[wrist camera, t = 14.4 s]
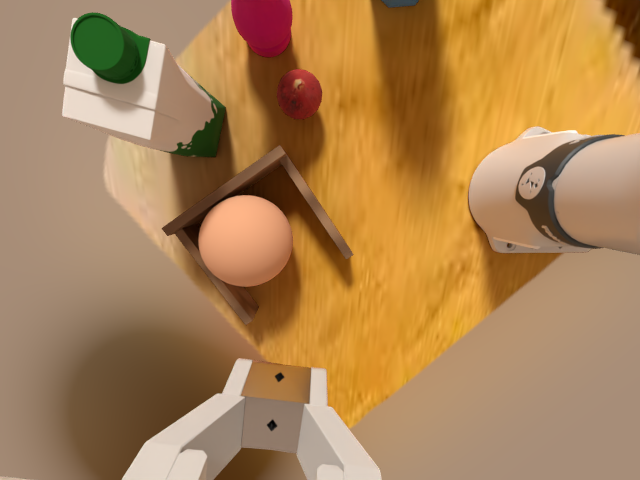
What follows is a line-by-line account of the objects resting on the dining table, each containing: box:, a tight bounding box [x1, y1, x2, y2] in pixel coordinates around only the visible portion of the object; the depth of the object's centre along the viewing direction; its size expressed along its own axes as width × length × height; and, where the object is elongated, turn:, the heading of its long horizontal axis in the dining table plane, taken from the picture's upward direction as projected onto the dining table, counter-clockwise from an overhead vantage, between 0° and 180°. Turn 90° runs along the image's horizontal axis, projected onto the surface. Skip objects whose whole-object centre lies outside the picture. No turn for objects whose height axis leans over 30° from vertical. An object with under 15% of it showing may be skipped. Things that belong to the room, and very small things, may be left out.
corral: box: [162, 145, 353, 325], centre depth 41 cm, size 17×18×7 cm
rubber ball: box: [198, 195, 293, 287], centre depth 39 cm, size 12×12×12 cm
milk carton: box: [62, 13, 226, 157], centre depth 32 cm, size 9×9×20 cm
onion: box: [277, 69, 322, 120], centre depth 38 cm, size 6×6×8 cm
